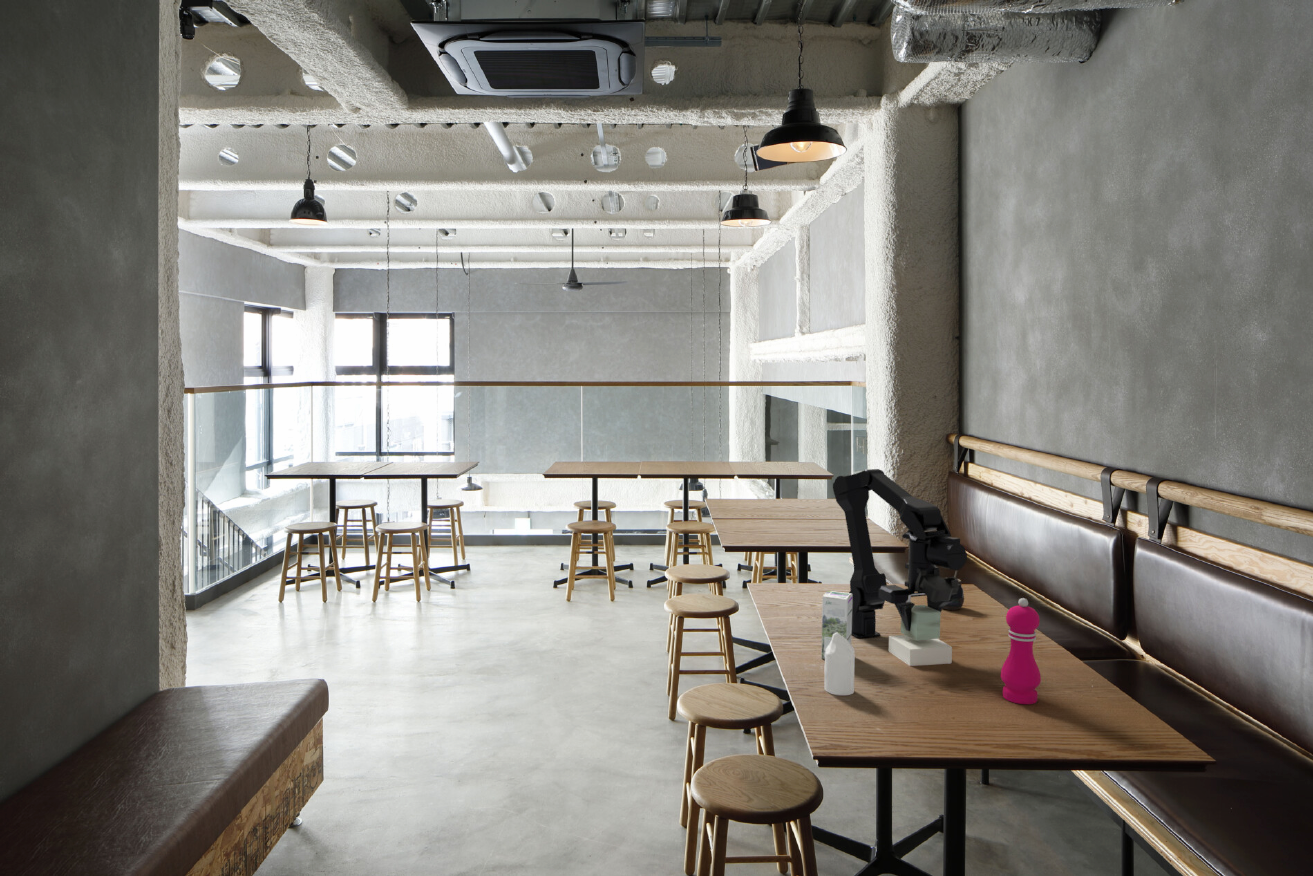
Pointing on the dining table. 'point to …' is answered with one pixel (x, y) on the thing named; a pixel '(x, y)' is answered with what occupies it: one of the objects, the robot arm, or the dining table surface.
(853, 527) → the robot arm
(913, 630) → the green cube
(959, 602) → the mate gourd
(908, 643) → the cream block
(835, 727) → the dining table surface
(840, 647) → the white bottle
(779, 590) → the dining table surface
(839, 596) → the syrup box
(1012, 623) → the pepper mill
